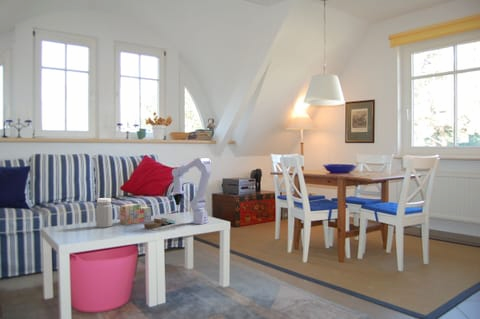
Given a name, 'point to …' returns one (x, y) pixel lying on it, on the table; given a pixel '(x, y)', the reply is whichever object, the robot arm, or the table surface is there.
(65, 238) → the table surface
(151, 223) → the domino
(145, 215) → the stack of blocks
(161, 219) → the domino
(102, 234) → the table surface
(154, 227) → the domino
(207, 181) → the robot arm
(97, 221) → the jar
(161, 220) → the domino
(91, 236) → the table surface
